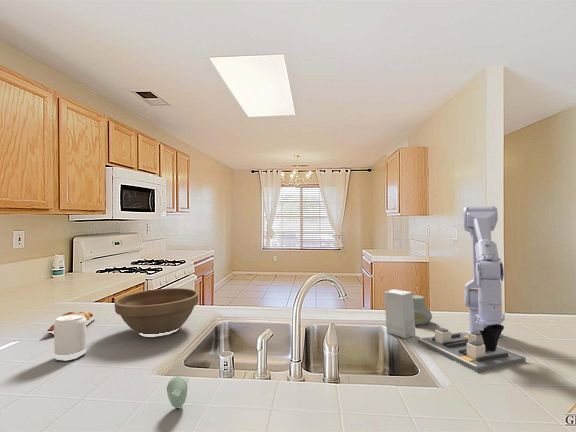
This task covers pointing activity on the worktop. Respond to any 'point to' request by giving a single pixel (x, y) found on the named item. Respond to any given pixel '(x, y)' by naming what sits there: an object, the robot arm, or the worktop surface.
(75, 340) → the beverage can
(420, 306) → the air freshener
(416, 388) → the worktop surface
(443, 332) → the switch
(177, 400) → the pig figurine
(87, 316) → the croissant
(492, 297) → the robot arm
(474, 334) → the switch middle
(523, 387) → the worktop surface
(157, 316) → the brown round bowl
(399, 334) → the skincare box
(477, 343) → the switch
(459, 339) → the console
